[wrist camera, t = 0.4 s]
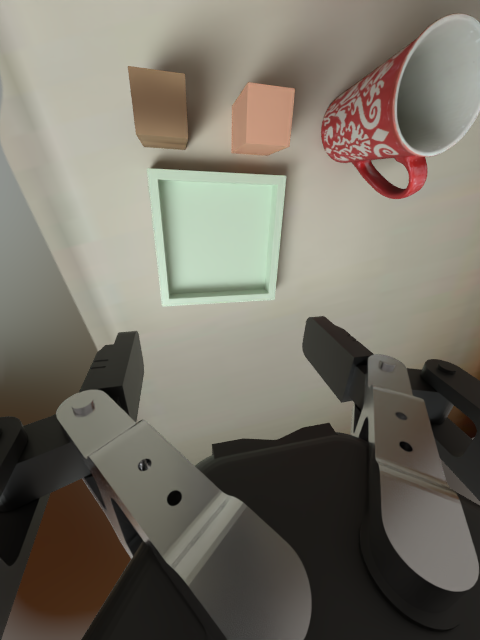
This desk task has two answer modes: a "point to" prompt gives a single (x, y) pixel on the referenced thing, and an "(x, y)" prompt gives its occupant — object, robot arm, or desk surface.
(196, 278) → the tray
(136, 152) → the desk surface
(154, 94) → the walnut block
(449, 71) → the mug
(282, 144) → the terracotta block
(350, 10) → the desk surface
